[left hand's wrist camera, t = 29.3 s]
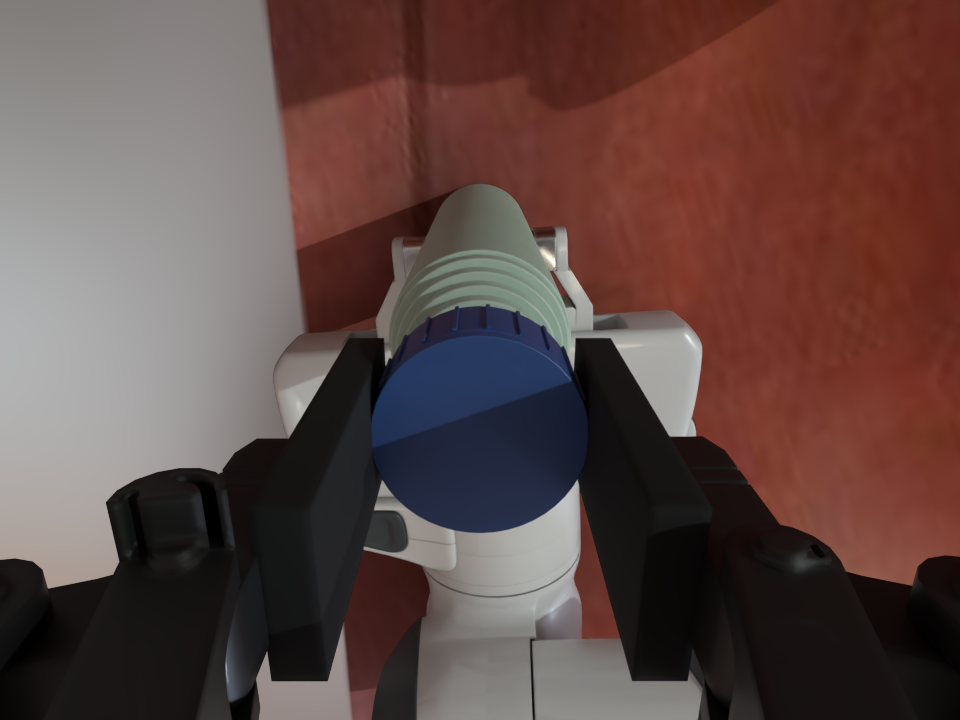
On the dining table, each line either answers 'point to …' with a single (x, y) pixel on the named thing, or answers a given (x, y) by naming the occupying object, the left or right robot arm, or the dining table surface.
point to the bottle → (479, 266)
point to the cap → (479, 421)
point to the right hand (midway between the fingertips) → (477, 232)
